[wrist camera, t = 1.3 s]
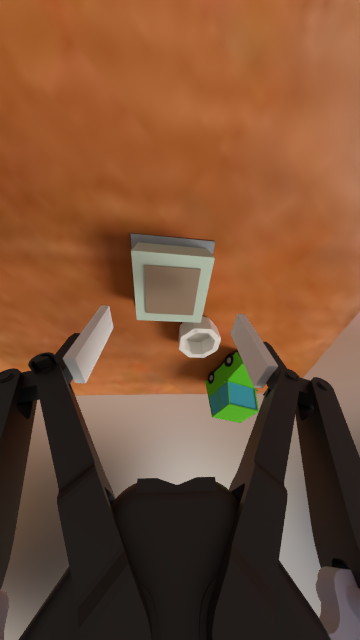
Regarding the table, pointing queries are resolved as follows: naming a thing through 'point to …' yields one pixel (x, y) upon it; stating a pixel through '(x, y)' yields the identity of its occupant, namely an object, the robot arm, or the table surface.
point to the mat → (171, 241)
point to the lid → (170, 281)
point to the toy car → (231, 391)
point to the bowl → (198, 338)
